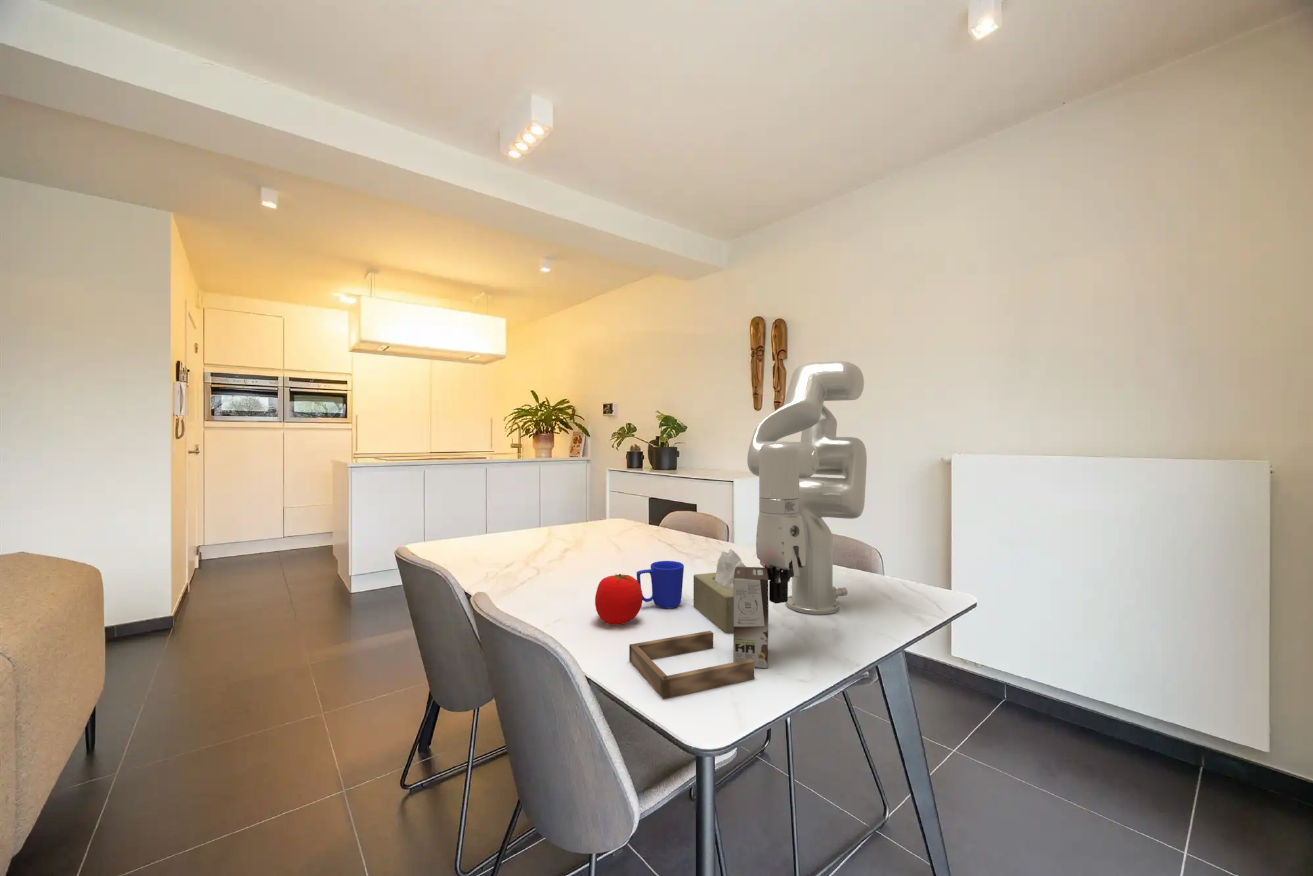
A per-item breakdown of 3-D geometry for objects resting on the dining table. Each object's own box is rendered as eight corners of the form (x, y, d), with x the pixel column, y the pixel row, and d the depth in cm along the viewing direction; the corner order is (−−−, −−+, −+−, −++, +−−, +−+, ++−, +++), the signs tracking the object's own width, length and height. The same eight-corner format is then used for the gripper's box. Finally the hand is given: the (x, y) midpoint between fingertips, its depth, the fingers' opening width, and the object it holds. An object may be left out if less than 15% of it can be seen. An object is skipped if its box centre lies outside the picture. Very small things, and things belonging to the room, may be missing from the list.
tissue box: (767, 629, 113) (767, 556, 113) (725, 635, 110) (726, 560, 110) (729, 603, 131) (729, 540, 131) (692, 606, 128) (692, 542, 128)
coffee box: (768, 669, 94) (768, 579, 94) (732, 666, 95) (732, 577, 95) (768, 648, 103) (768, 566, 103) (735, 646, 104) (735, 565, 104)
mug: (631, 604, 129) (631, 564, 129) (675, 598, 134) (675, 559, 134) (643, 614, 122) (643, 572, 122) (689, 608, 127) (689, 566, 127)
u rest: (710, 645, 104) (710, 630, 104) (754, 678, 90) (754, 661, 90) (629, 660, 97) (629, 644, 97) (663, 699, 83) (663, 680, 83)
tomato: (584, 624, 116) (584, 575, 116) (614, 610, 125) (614, 565, 125) (622, 634, 110) (622, 583, 110) (650, 619, 119) (650, 572, 119)
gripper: (820, 510, 96) (820, 611, 96) (771, 501, 109) (771, 589, 110) (787, 513, 93) (787, 616, 93) (741, 503, 106) (740, 593, 107)
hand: (778, 601), depth 101 cm, fingers closed
